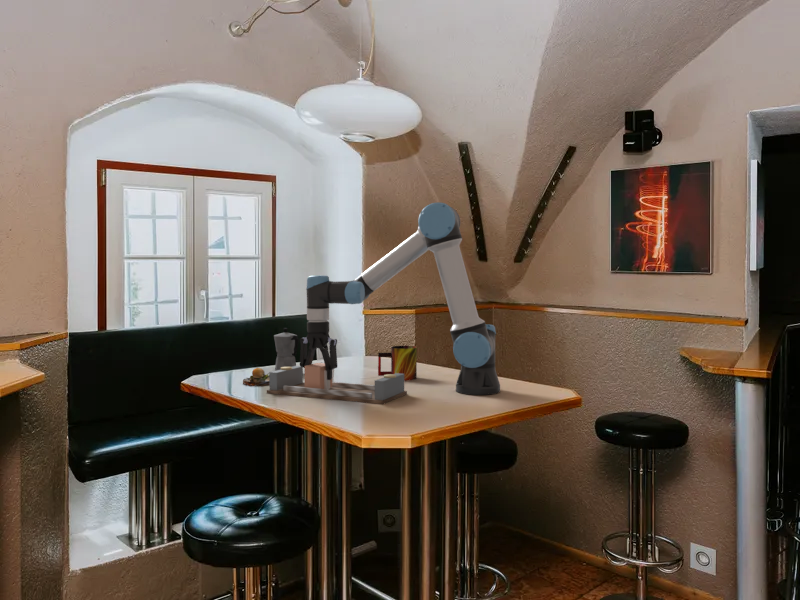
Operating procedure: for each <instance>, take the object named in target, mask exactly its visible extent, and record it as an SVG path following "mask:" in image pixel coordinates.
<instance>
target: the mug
mask: <svg viewBox="0 0 800 600" xmlns="http://www.w3.org/2000/svg"><path fill="white" fill-rule="evenodd" d="M417 350H418V349H417V346H414V345H394V346H391V349H390V352H378V353H377V354H378V357H377V362H378V363H377V364H378V366H377V376H378V377H379V376H380V377H382V376H383V377H384V375H386V374H395V373H401V374H404V381H414V380H417V377H418V376H417V366H418V365H417V362H418V361H417ZM382 358H391V360H390V361H391V366H390V367H391V368H390V369H391V370H390V371H387V370H386V371H382Z"/></svg>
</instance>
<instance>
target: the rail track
mask: <svg viewBox="0 0 800 600" xmlns="http://www.w3.org/2000/svg"><path fill="white" fill-rule="evenodd" d="M266 394H271V395H273V394H274V395H281V396H282V395H284V396H293V397H304V398H312V399H313V398H314V399H325V400H336V401H344V402H355V403H357V402H358V403H366V402H367V403H368V404H376V403H377V404H378V405H385V404H386V403H389V402H392V401H393V400H396V399H398V398H402V397H404V396H406V395H407V394H408V390H404V392H402V393H400V394H397V395H395V396H392V397H390V398H387V399H385V400H375V384H363V383H362V384H361V383H352V382H341V381H340V382H338V381H333V382H332V387H331V388H330V389H319V388H307V387H305V381H303V383H301V384H298V385H294V386H284V389H280V390H270V388H268V389H266ZM356 401H357V402H356ZM367 403H366V404H367ZM384 403H385V404H384Z"/></svg>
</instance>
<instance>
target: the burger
mask: <svg viewBox="0 0 800 600" xmlns="http://www.w3.org/2000/svg"><path fill="white" fill-rule="evenodd" d="M242 384H244V385H246V386H247V385H249V387H250V386H252V387H264V386H270V385H269V372H268V373H267V374H266V373H265V370H264V369H263V368H262V367H256V368H254V369H253V370H252V372H251V375H250V376H249V377H246V378H244V379H243V380H242Z"/></svg>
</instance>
